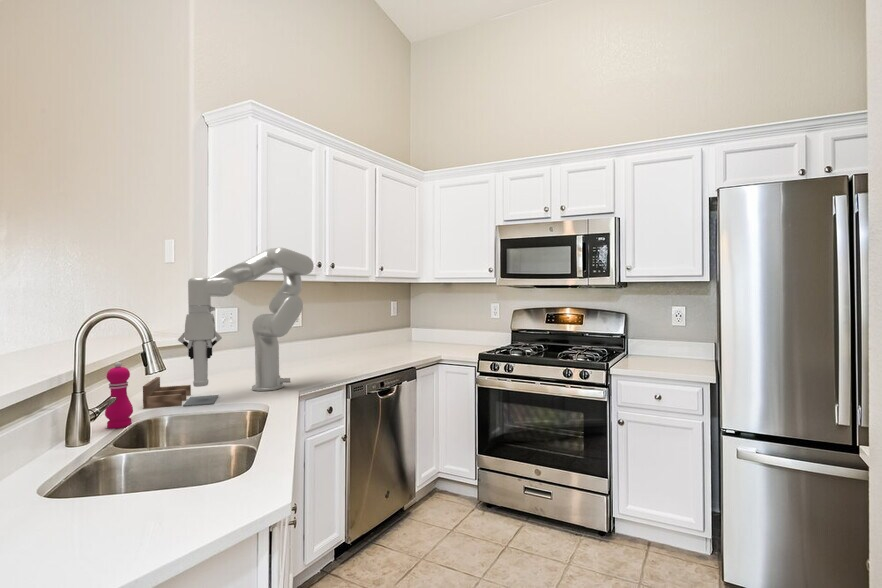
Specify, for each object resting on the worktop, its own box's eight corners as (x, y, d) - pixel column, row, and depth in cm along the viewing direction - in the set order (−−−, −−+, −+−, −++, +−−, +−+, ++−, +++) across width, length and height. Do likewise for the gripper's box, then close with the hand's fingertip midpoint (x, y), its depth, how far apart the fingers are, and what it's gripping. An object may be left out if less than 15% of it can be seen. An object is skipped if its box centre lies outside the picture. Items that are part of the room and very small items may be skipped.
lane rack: (190, 394, 188) (190, 374, 188) (181, 405, 171) (180, 383, 171) (156, 397, 185) (156, 377, 184) (143, 408, 167) (142, 386, 167)
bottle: (202, 387, 174) (201, 319, 174) (190, 386, 175) (188, 319, 175) (211, 384, 179) (210, 319, 179) (199, 383, 180) (198, 319, 180)
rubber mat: (218, 396, 185) (218, 394, 185) (213, 404, 172) (213, 402, 172) (190, 398, 182) (190, 396, 182) (182, 406, 169) (182, 405, 169)
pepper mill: (119, 429, 142) (117, 364, 141) (99, 428, 143) (97, 363, 143) (139, 423, 149) (137, 360, 149) (119, 422, 150) (118, 360, 150)
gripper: (225, 309, 183) (226, 355, 183) (176, 310, 178) (177, 358, 178) (223, 310, 176) (224, 358, 176) (171, 311, 171) (172, 361, 171)
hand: (200, 357), depth 177 cm, fingers closed on bottle, 5 cm apart
